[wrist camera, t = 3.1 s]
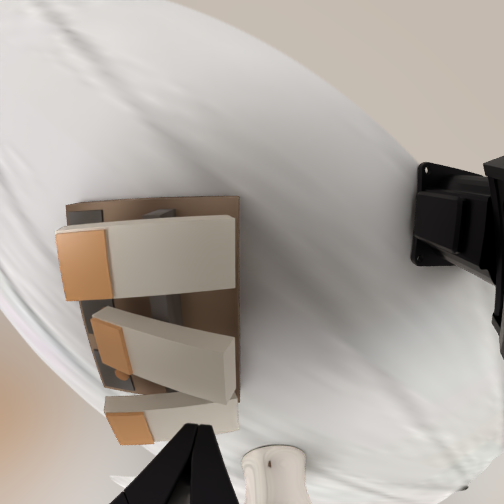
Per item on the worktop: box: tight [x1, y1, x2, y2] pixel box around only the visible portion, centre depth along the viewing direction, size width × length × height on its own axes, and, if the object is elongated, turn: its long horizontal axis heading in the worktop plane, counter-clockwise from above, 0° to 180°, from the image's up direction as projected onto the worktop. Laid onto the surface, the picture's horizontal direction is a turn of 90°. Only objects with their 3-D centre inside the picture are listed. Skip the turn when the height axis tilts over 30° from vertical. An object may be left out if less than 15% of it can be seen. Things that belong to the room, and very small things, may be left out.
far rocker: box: [104, 391, 239, 445], centre depth 12 cm, size 7×3×1 cm, turn 89°
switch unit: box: [66, 196, 240, 403], centre depth 14 cm, size 10×13×4 cm
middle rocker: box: [90, 306, 236, 405], centre depth 11 cm, size 7×3×1 cm, turn 90°
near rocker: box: [55, 215, 235, 301], centre depth 10 cm, size 7×3×1 cm, turn 89°
